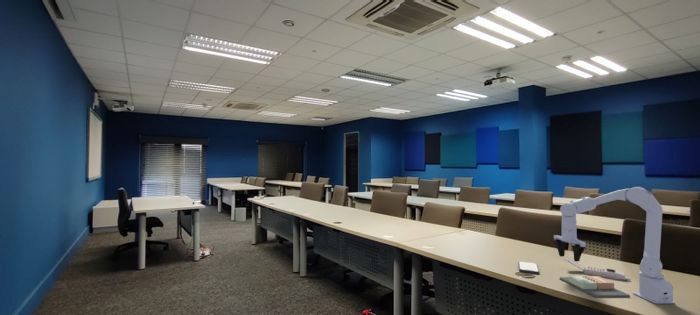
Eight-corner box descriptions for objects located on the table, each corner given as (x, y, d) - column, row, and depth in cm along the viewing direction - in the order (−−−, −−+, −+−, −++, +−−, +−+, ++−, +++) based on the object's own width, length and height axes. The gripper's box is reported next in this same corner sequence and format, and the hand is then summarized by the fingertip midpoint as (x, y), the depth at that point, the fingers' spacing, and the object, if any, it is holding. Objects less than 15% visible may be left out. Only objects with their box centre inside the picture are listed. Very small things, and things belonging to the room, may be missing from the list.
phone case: (518, 264, 169) (518, 272, 155) (518, 261, 170) (518, 269, 155) (537, 266, 165) (539, 275, 151) (537, 263, 166) (539, 272, 151)
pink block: (614, 288, 132) (614, 282, 132) (598, 289, 132) (598, 282, 132) (598, 281, 140) (598, 275, 140) (583, 281, 140) (583, 275, 140)
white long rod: (565, 256, 163) (629, 265, 147) (565, 267, 163) (629, 278, 147) (564, 259, 158) (630, 269, 143) (564, 271, 158) (630, 282, 142)
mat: (629, 297, 126) (629, 295, 126) (594, 297, 126) (594, 295, 126) (589, 278, 146) (589, 277, 146) (559, 279, 146) (559, 277, 146)
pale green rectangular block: (597, 289, 132) (597, 282, 132) (583, 289, 132) (583, 282, 132) (582, 281, 140) (582, 275, 140) (569, 281, 140) (569, 276, 140)
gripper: (591, 232, 140) (591, 262, 139) (562, 225, 154) (562, 253, 153) (578, 232, 138) (578, 263, 138) (550, 226, 152) (550, 254, 152)
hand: (569, 258), depth 145 cm, fingers open, 7 cm apart
